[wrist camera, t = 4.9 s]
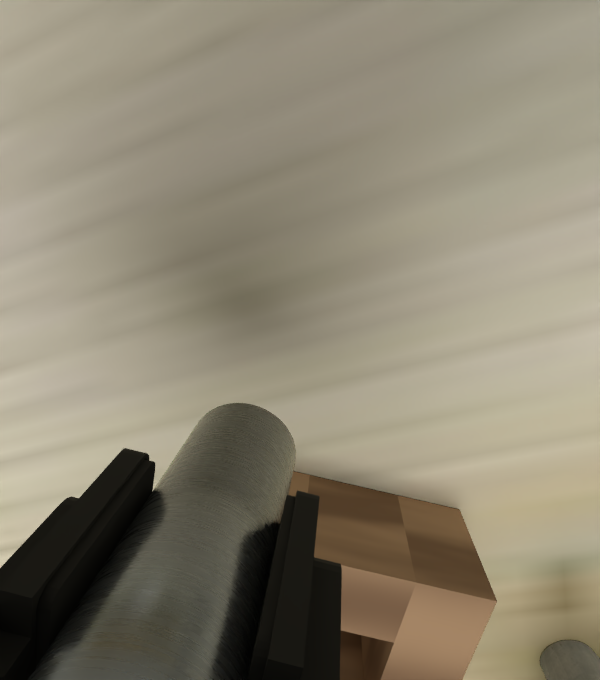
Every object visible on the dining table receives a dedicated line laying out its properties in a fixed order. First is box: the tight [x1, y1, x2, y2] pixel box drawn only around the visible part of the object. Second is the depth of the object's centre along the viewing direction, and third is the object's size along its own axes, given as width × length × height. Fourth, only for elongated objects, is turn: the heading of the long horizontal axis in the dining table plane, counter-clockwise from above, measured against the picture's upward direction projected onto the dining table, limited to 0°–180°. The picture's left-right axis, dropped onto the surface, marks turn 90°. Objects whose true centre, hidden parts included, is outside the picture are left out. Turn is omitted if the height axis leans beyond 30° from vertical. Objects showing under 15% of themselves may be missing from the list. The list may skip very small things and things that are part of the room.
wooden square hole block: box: [289, 471, 497, 680], centre depth 24 cm, size 12×12×6 cm
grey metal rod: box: [28, 403, 296, 680], centre depth 8 cm, size 3×3×12 cm
